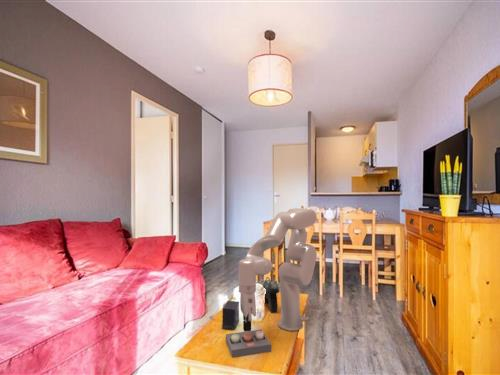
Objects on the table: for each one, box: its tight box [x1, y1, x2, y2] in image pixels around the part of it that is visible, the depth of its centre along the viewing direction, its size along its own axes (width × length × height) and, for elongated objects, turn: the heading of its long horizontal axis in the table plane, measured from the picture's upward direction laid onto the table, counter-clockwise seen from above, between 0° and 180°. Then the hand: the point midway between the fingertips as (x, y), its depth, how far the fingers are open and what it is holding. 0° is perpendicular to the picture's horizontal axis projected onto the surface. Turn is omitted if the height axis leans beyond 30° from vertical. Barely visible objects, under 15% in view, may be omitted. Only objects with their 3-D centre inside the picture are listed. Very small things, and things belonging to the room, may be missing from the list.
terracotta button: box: [244, 332, 252, 342], centre depth 123 cm, size 4×4×2 cm
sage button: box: [231, 334, 240, 344], centre depth 122 cm, size 4×4×2 cm
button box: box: [225, 329, 272, 358], centre depth 123 cm, size 17×14×3 cm
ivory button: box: [256, 330, 265, 340], centre depth 125 cm, size 4×4×2 cm
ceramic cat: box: [262, 273, 280, 314], centre depth 167 cm, size 20×6×20 cm, turn 13°
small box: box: [221, 300, 240, 331], centre depth 144 cm, size 11×6×10 cm, turn 168°
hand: (247, 330), depth 123 cm, fingers closed
